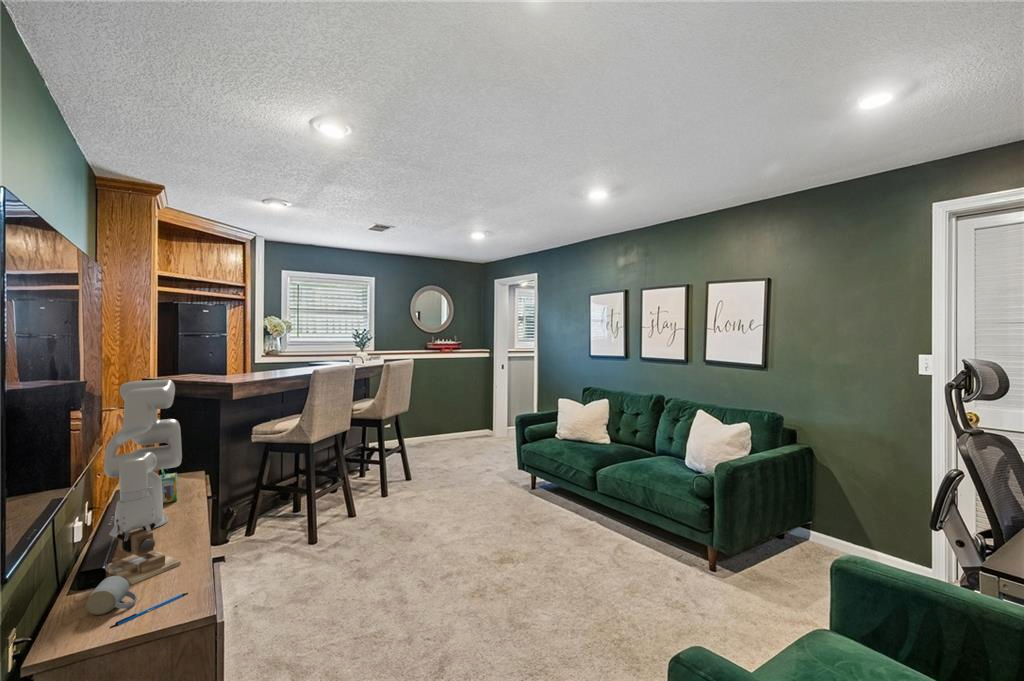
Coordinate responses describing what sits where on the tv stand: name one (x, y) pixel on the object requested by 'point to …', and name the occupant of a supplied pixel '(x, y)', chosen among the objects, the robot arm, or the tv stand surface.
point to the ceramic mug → (109, 596)
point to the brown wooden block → (139, 541)
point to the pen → (147, 610)
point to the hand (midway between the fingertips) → (136, 547)
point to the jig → (141, 566)
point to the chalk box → (169, 487)
